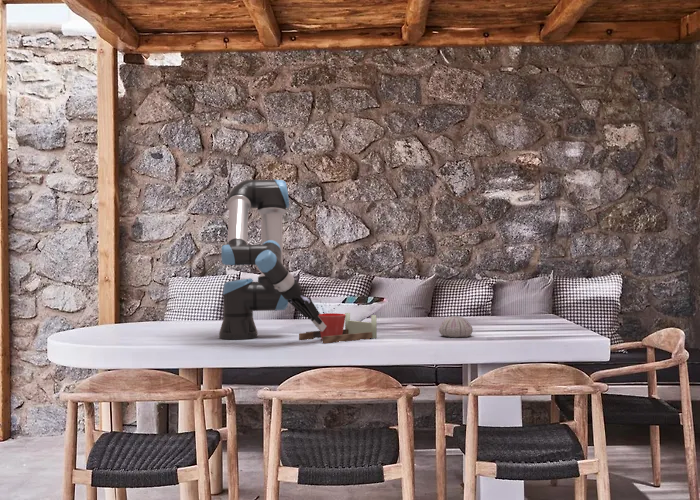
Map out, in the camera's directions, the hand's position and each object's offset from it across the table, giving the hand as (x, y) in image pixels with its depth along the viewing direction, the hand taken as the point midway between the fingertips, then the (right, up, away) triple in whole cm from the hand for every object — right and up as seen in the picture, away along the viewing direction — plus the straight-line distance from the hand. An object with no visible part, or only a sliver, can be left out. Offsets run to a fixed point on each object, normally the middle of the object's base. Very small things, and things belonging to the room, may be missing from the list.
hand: (323, 328), depth 301 cm
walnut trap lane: (+4, -5, +7) cm, 9 cm away
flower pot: (+3, -5, +5) cm, 7 cm away
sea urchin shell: (+52, -4, +11) cm, 53 cm away
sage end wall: (+14, -4, +13) cm, 20 cm away
